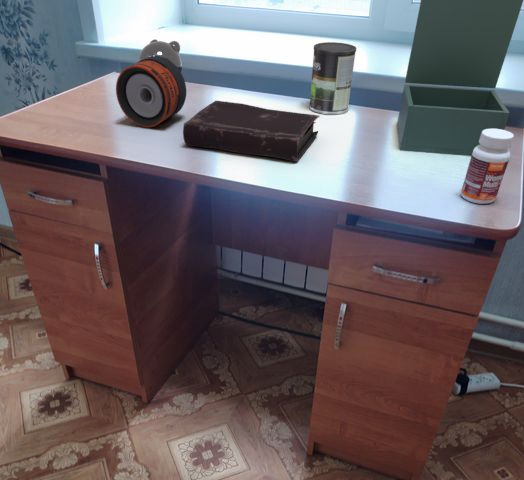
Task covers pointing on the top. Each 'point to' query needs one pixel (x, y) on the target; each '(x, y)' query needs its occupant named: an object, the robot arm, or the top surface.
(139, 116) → the oil filter
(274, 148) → the diary
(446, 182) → the top surface
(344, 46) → the coffee can
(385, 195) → the top surface
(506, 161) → the pill bottle
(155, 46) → the piggy bank
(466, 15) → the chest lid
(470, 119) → the chest
